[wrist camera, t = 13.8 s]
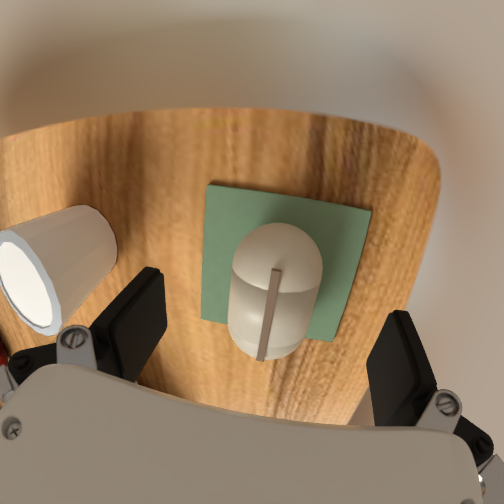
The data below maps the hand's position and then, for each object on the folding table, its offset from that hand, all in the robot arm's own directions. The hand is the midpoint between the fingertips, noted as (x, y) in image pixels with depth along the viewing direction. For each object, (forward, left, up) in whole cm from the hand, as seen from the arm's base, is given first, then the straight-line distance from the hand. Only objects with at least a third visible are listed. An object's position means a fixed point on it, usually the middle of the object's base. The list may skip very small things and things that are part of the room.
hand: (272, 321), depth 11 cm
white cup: (+1, -14, -6) cm, 15 cm away
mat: (+1, 0, -6) cm, 6 cm away
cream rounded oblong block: (+1, 0, -6) cm, 6 cm away
